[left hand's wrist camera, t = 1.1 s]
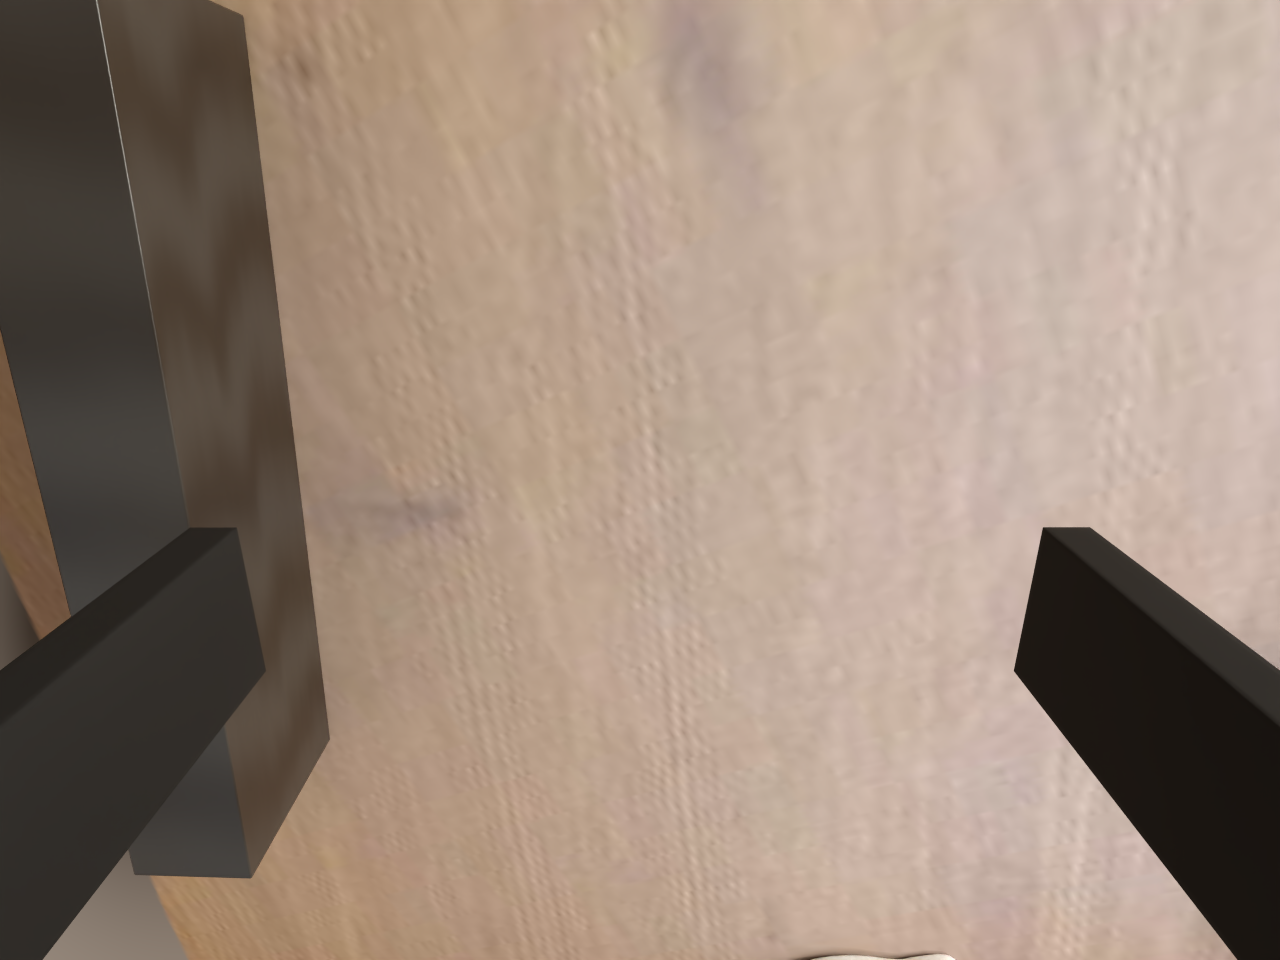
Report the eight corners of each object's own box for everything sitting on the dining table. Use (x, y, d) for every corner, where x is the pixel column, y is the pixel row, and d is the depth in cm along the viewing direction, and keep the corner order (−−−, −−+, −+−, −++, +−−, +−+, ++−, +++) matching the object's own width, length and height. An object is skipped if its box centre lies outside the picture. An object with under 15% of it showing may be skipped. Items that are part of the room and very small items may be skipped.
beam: (112, 8, 29) (-99, -66, 21) (244, 15, 30) (86, -56, 21) (236, 736, 41) (133, 875, 33) (330, 739, 41) (251, 879, 33)
